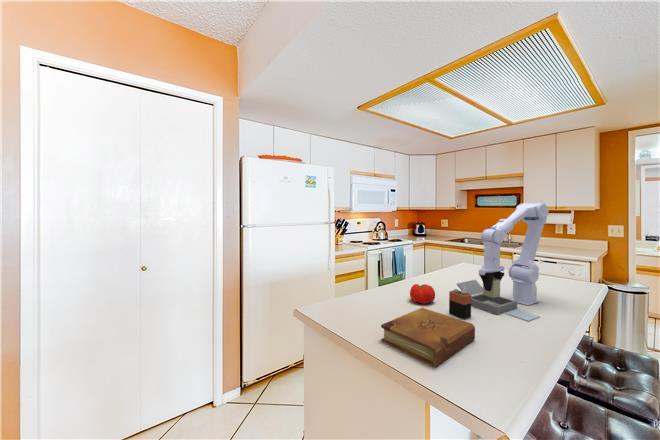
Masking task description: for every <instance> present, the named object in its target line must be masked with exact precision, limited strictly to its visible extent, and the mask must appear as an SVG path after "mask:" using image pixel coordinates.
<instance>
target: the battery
mask: <svg viewBox="0 0 660 440" xmlns="http://www.w3.org/2000/svg"><path fill="white" fill-rule="evenodd" d="M448 297H449V299H448V301H449V303H448V313H449V314H450V315H452V316H454V317H456V318H458V319H461V320H467V319H470V318H471V317H472V306H471V294H469V293H467V292H466V291H461V290H459V289H457V288H453V290H450V291H449V293H448Z"/></svg>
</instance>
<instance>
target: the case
mask: <svg viewBox="0 0 660 440" xmlns="http://www.w3.org/2000/svg"><path fill="white" fill-rule="evenodd" d="M456 286H457V287H458V288H459V290H460V291H466V292H467V293H469V294H471V308H474V309H478V310H480V311H484V312H486V313H490V314H493V315H496V316H499V315H501V314H506V313H507V312H510V311H513V310H517V309H518V303H517V301H514V300H510V298H507V297H502V296H501V295H500V296H499V297H495V298H492V297H489V296H485V295H483V285H481V284H480V283H479V282H478V281H477V280H476V279H473V280H468V281H463V282H457V283H456ZM486 301H488V302H491V303H494V304H499V305H493V304H490V303H487V302H486Z"/></svg>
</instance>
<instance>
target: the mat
mask: <svg viewBox="0 0 660 440" xmlns="http://www.w3.org/2000/svg"><path fill="white" fill-rule="evenodd" d="M505 315H507V316H511V317H513V318H516V319H519V320H522V321H525V322H531V321H534V320H536V319H539V318H541V316H540V315H537V314H533V313H530V312H526V311H523V310H520V309H518V308H517V309H514V310H511V311H508V312H505Z"/></svg>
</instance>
